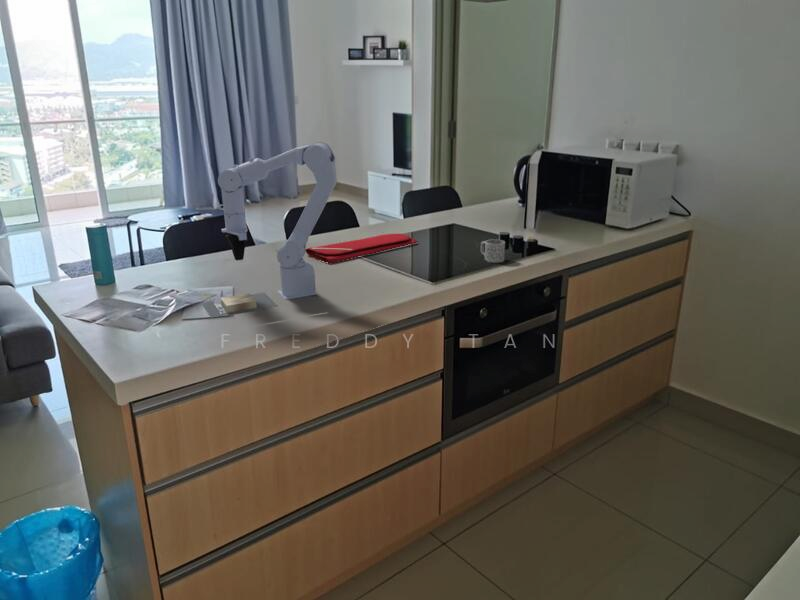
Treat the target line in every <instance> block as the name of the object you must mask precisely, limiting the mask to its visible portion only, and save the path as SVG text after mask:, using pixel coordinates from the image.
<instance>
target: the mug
mask: <svg viewBox="0 0 800 600" xmlns="http://www.w3.org/2000/svg"><path fill="white" fill-rule="evenodd" d="M484 248H485V249H484ZM505 251H506V241H505V240H502V239H498V238H495V239H494V238H493V239H487V240H483V241H481V242H480V253H481V254H482V255H483V256H484V261H485V260H486V261H487V263H490V262H492V263H491V264H494V263H495V264H499V263H500V264H501V263H503V262H505ZM486 261H485V262H486Z"/></svg>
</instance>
